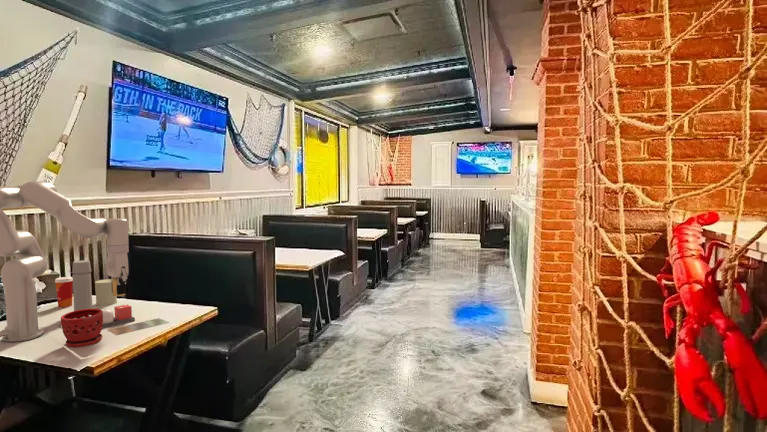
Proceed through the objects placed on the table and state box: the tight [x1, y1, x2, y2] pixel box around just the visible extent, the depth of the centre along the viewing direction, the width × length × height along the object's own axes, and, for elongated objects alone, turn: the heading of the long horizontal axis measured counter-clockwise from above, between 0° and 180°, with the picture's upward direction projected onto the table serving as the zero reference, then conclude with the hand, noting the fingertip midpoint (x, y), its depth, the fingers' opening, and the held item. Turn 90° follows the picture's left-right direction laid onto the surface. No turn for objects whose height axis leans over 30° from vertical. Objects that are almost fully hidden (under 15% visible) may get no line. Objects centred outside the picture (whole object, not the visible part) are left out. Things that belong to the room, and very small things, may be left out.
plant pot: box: [60, 308, 103, 348], centre depth 167 cm, size 13×13×12 cm
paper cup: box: [54, 276, 74, 308], centre depth 218 cm, size 8×8×14 cm
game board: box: [107, 317, 170, 336], centre depth 186 cm, size 21×10×1 cm, turn 141°
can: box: [94, 278, 118, 307], centre depth 224 cm, size 9×9×12 cm
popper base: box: [96, 304, 136, 329], centre depth 190 cm, size 14×8×7 cm, turn 141°
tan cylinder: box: [111, 278, 126, 297], centre depth 180 cm, size 4×4×7 cm
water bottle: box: [70, 259, 93, 311], centre depth 204 cm, size 9×8×25 cm
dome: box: [102, 308, 115, 324], centre depth 188 cm, size 6×6×7 cm
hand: (118, 292), depth 180 cm, fingers closed on tan cylinder, 4 cm apart
